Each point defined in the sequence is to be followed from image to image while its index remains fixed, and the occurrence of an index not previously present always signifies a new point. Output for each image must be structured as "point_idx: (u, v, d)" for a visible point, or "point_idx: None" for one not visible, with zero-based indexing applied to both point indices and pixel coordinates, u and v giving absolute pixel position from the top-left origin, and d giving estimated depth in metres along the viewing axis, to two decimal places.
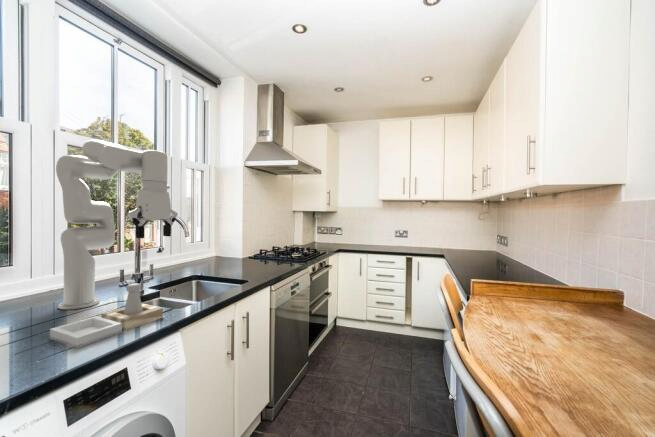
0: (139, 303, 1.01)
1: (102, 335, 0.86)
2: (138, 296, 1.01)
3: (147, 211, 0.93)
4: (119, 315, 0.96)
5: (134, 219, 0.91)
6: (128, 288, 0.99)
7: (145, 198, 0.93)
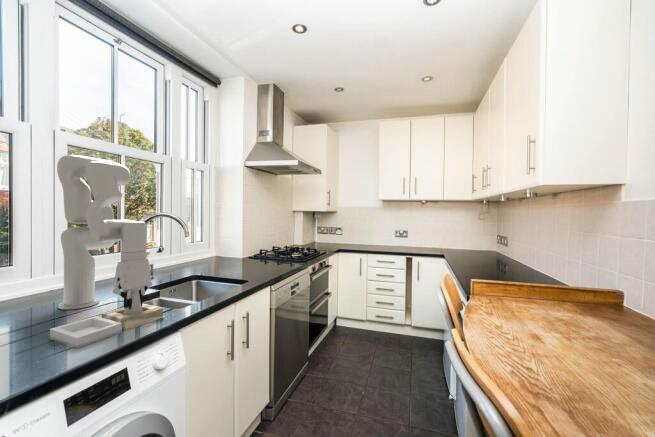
0: (139, 303, 1.01)
1: (102, 335, 0.86)
2: (138, 296, 1.01)
3: (126, 282, 0.96)
4: (119, 315, 0.96)
5: (122, 293, 0.96)
6: None
7: (124, 270, 0.96)
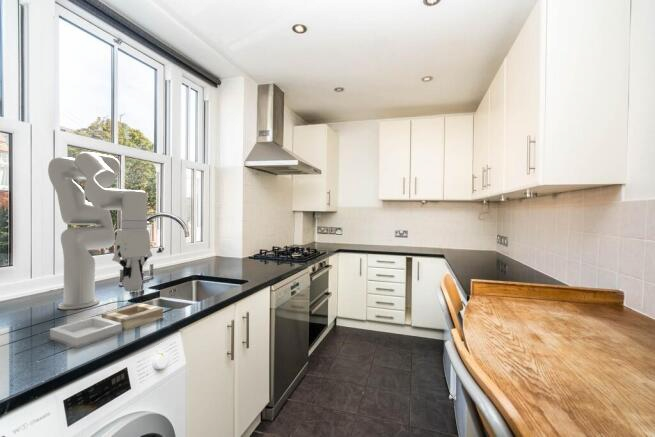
0: (138, 272, 1.01)
1: (102, 335, 0.86)
2: (138, 265, 1.01)
3: (125, 250, 0.96)
4: (119, 315, 0.96)
5: (122, 261, 0.96)
6: None
7: (124, 238, 0.96)
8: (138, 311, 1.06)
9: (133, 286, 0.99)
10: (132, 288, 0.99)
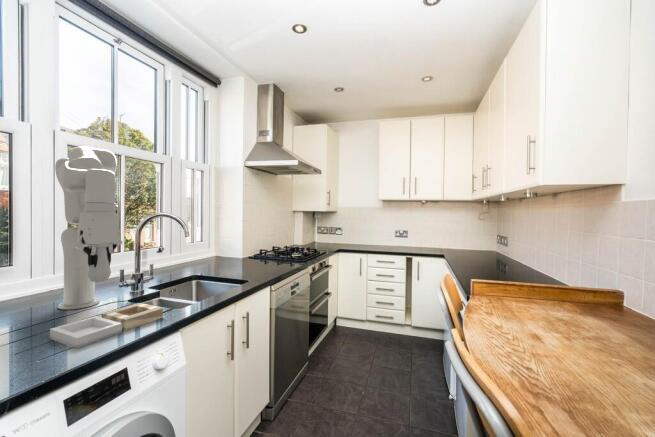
0: (106, 261, 0.91)
1: (102, 335, 0.86)
2: (105, 253, 0.91)
3: (90, 236, 0.86)
4: (119, 315, 0.96)
5: (86, 248, 0.86)
6: None
7: (87, 222, 0.86)
8: (138, 311, 1.06)
9: (99, 276, 0.89)
10: (99, 278, 0.89)
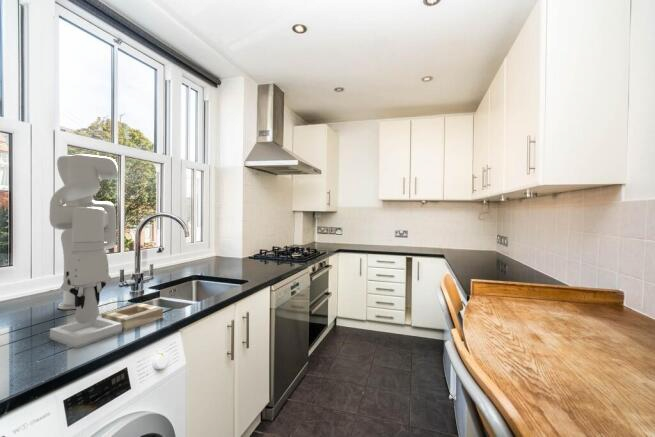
0: (94, 301, 0.88)
1: (102, 335, 0.86)
2: (93, 293, 0.88)
3: (76, 277, 0.83)
4: (119, 315, 0.96)
5: (72, 290, 0.83)
6: None
7: (73, 263, 0.83)
8: (138, 311, 1.06)
9: (86, 318, 0.86)
10: (86, 319, 0.86)
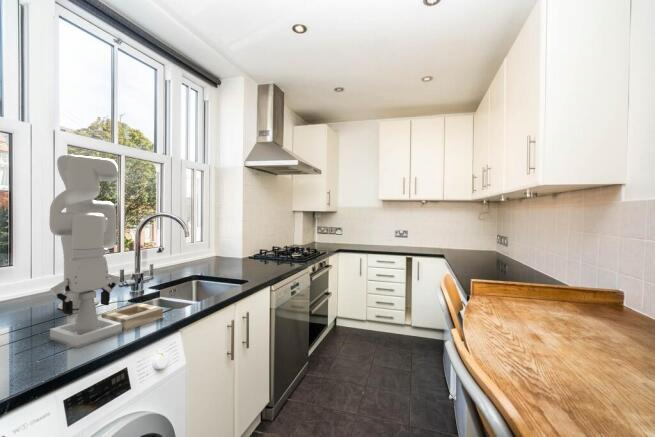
0: (93, 313, 0.88)
1: (102, 335, 0.86)
2: (92, 305, 0.88)
3: (76, 284, 0.83)
4: (119, 315, 0.96)
5: (59, 295, 0.81)
6: (80, 296, 0.86)
7: (73, 270, 0.83)
8: (138, 311, 1.06)
9: (86, 330, 0.86)
10: (86, 331, 0.86)
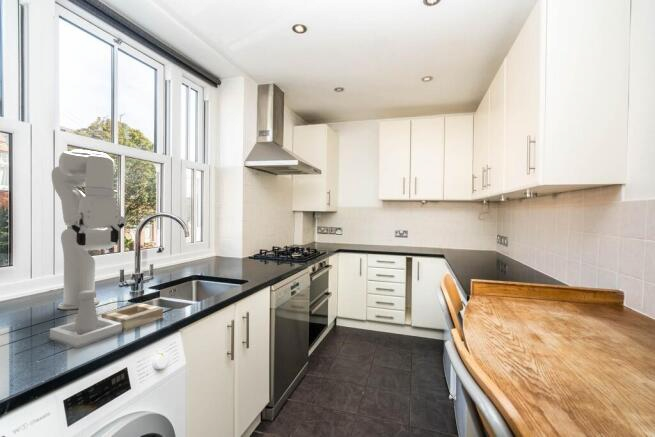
0: (93, 313, 0.88)
1: (102, 335, 0.86)
2: (92, 305, 0.88)
3: (89, 218, 0.92)
4: (119, 315, 0.96)
5: (74, 226, 0.89)
6: (80, 296, 0.86)
7: (87, 205, 0.91)
8: (138, 311, 1.06)
9: (86, 330, 0.86)
10: (86, 331, 0.86)
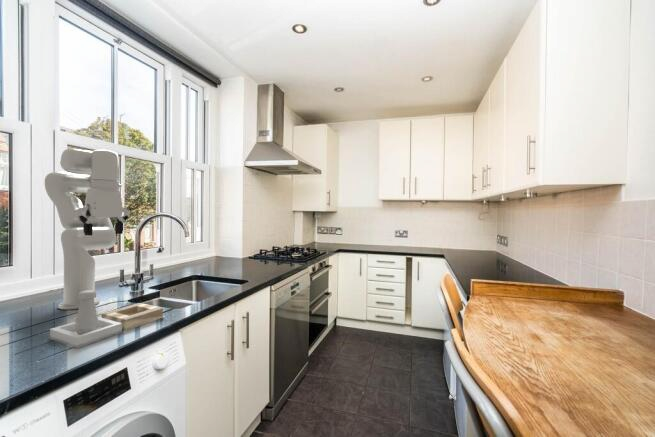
0: (93, 313, 0.88)
1: (102, 335, 0.86)
2: (92, 305, 0.88)
3: (95, 209, 0.96)
4: (119, 315, 0.96)
5: (81, 217, 0.93)
6: (80, 296, 0.86)
7: (93, 196, 0.96)
8: (138, 311, 1.06)
9: (86, 330, 0.86)
10: (86, 331, 0.86)
